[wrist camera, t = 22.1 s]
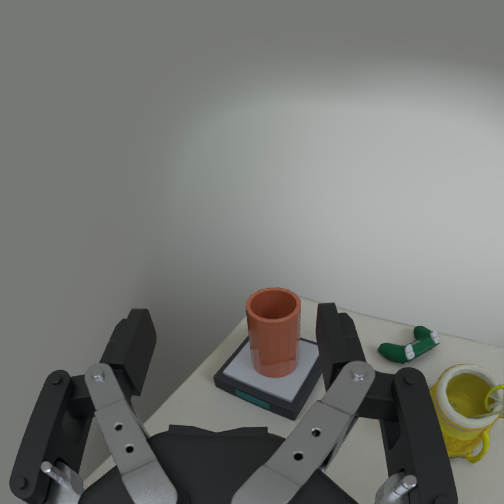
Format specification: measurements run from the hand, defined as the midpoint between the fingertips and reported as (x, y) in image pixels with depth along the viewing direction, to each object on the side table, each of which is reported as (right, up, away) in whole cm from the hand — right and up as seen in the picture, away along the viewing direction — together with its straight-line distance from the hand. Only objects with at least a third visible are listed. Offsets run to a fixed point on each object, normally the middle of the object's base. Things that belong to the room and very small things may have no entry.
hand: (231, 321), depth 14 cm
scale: (+4, -14, +28) cm, 31 cm away
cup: (+4, -11, +26) cm, 29 cm away
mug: (+26, -20, +14) cm, 36 cm away
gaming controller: (+25, -12, +28) cm, 39 cm away
